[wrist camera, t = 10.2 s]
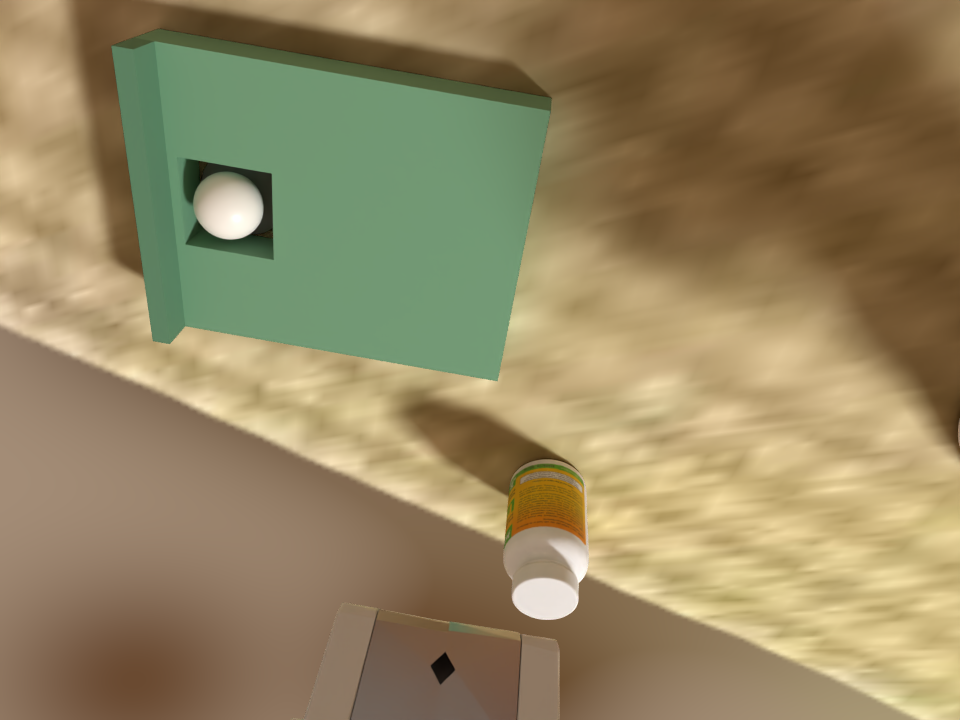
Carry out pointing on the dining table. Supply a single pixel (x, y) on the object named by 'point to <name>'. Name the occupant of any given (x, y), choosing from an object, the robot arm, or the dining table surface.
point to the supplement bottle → (546, 538)
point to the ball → (228, 205)
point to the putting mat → (331, 200)
